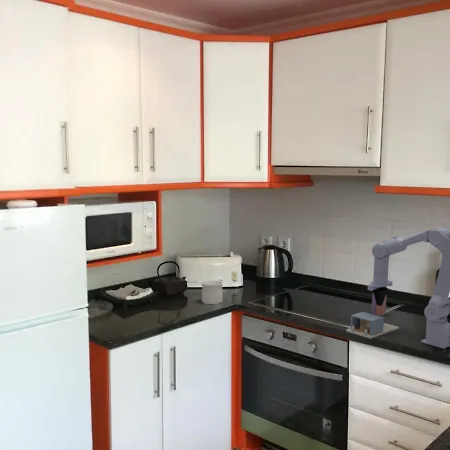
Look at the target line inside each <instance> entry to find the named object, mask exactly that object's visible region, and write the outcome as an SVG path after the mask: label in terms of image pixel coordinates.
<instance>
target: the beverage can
mask: <svg viewBox="0 0 450 450" xmlns="http://www.w3.org/2000/svg"><path fill="white" fill-rule="evenodd" d="M386 288H388V286H386ZM371 299H372V301H371V314H373V315H377V316H381V317H384V316H385V315H386V311H387V295H386V296H385V299H384V302H383V305H382V306H379V305H376V301H375V297H374V294H373V293H372V297H371Z"/></svg>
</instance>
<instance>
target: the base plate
mask: <svg viewBox="0 0 450 450" xmlns="http://www.w3.org/2000/svg"><path fill="white" fill-rule="evenodd" d="M354 327H355V326H352V329H350V327H349V328H346V329H345V332H346V333H350V334H353V335H357V336H360V337H364V338H367V339H374V338H376V337H379V335H380V336H382V334H383V335H385V334H388V333H391V332H393V331H396V330H399V329H400V326H396V325H393V324H389V323H385V322H384V326H383V331H382V332H379V333H376V334H373V335H370V332H367V330H365V331H362V330H360V327H357V328H354Z"/></svg>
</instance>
